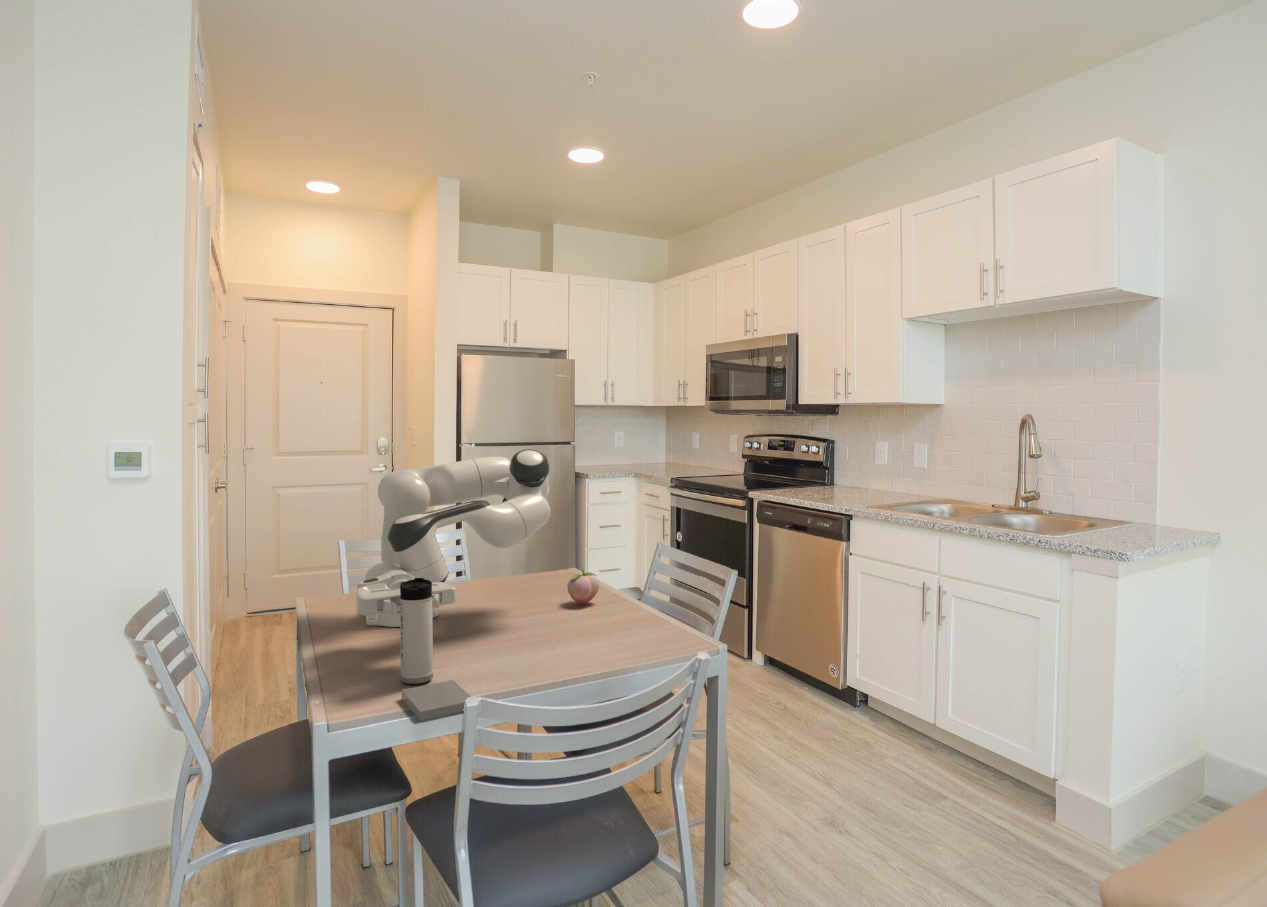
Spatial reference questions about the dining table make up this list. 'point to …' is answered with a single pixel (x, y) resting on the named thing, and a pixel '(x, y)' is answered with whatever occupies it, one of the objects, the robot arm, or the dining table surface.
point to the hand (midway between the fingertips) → (417, 606)
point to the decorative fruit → (583, 587)
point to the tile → (435, 700)
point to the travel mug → (416, 631)
